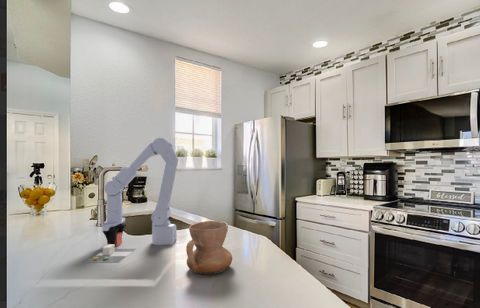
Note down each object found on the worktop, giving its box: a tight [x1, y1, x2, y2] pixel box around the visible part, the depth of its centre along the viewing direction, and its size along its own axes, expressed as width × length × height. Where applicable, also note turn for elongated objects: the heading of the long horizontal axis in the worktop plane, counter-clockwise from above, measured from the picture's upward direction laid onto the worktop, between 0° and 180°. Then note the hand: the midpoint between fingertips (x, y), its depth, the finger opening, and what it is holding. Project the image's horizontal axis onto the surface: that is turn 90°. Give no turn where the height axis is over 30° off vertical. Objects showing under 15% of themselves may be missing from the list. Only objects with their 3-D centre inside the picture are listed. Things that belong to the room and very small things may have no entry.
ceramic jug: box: [185, 220, 233, 275], centre depth 86 cm, size 18×14×14 cm
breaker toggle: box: [102, 244, 116, 255], centre depth 97 cm, size 2×4×3 cm, turn 178°
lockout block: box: [106, 232, 123, 247], centre depth 108 cm, size 4×4×6 cm
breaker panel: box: [82, 248, 137, 264], centre depth 96 cm, size 12×14×2 cm
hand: (114, 244), depth 108 cm, fingers closed on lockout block, 4 cm apart
